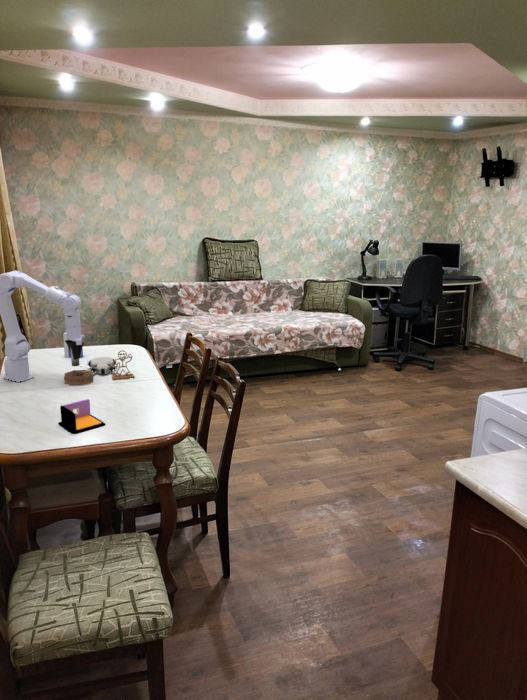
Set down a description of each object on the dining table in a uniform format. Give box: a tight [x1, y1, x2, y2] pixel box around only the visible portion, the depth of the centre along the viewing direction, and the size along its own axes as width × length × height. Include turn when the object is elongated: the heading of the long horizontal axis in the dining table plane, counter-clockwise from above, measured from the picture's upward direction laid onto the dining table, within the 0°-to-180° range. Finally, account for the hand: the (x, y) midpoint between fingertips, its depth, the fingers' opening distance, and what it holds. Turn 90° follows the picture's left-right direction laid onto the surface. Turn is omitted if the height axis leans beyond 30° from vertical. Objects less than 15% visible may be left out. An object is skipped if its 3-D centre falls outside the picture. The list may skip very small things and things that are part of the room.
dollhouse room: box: [57, 398, 106, 435], centre depth 182 cm, size 12×12×7 cm
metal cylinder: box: [70, 347, 81, 367], centre depth 221 cm, size 3×3×8 cm
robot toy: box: [86, 356, 118, 375], centre depth 237 cm, size 12×4×15 cm
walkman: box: [62, 331, 84, 359], centre depth 255 cm, size 8×3×12 cm, turn 85°
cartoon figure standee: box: [111, 349, 135, 381], centre depth 228 cm, size 9×4×12 cm, turn 112°
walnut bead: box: [63, 369, 94, 387], centre depth 224 cm, size 11×11×3 cm
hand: (75, 358), depth 221 cm, fingers closed on metal cylinder, 3 cm apart
